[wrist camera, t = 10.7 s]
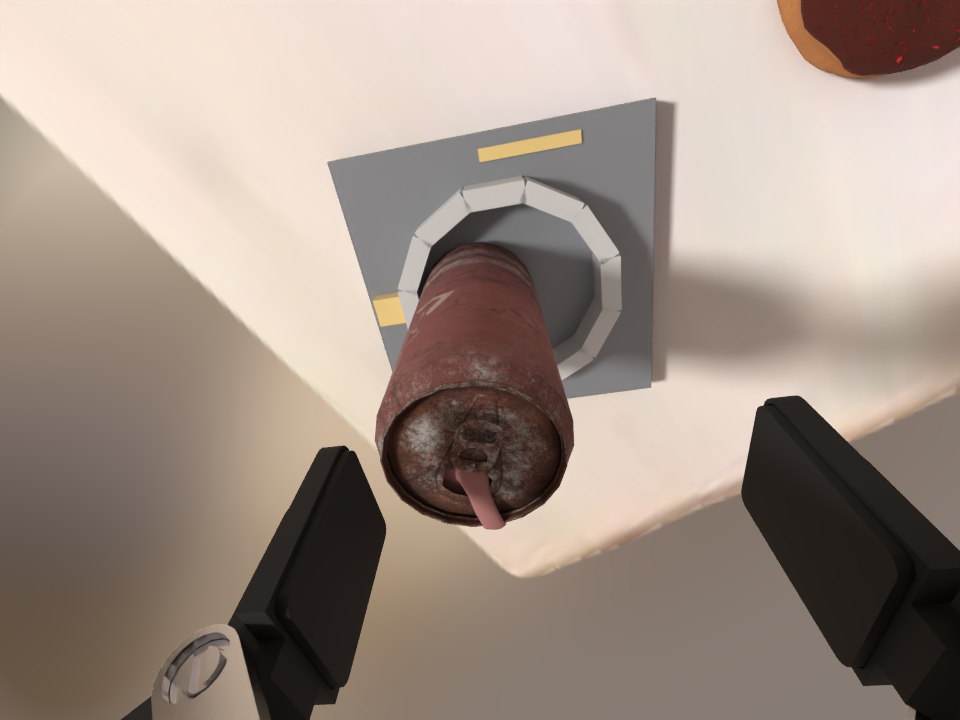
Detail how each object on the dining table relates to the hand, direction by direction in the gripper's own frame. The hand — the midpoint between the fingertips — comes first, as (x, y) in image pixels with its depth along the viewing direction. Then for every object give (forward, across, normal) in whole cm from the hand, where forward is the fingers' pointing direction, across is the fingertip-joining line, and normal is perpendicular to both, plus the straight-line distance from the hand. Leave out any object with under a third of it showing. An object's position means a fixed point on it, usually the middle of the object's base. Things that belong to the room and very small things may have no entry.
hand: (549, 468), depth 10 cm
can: (+16, +2, +2) cm, 16 cm away
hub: (+17, +1, +2) cm, 17 cm away
